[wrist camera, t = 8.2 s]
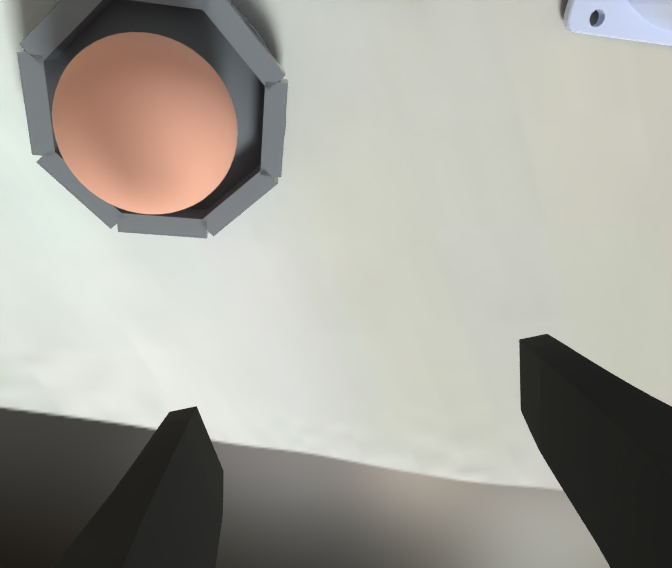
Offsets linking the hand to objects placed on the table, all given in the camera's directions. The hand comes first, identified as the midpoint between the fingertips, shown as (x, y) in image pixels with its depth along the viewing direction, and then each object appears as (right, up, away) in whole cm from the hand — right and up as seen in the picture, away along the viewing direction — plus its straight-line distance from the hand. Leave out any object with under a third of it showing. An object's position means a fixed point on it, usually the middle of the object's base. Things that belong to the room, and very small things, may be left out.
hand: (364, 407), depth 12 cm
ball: (-6, +8, +6) cm, 12 cm away
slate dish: (-6, +9, +6) cm, 13 cm away
